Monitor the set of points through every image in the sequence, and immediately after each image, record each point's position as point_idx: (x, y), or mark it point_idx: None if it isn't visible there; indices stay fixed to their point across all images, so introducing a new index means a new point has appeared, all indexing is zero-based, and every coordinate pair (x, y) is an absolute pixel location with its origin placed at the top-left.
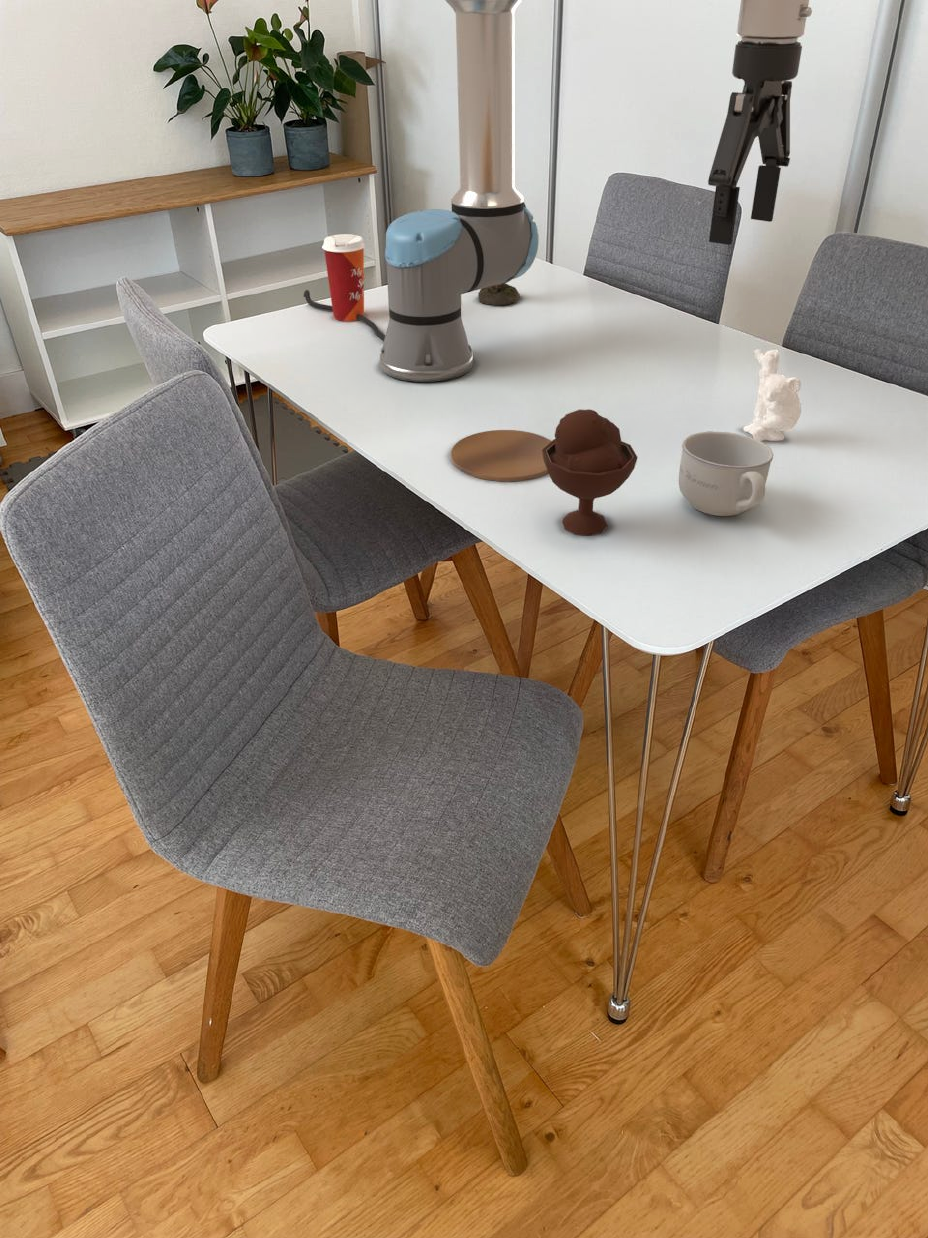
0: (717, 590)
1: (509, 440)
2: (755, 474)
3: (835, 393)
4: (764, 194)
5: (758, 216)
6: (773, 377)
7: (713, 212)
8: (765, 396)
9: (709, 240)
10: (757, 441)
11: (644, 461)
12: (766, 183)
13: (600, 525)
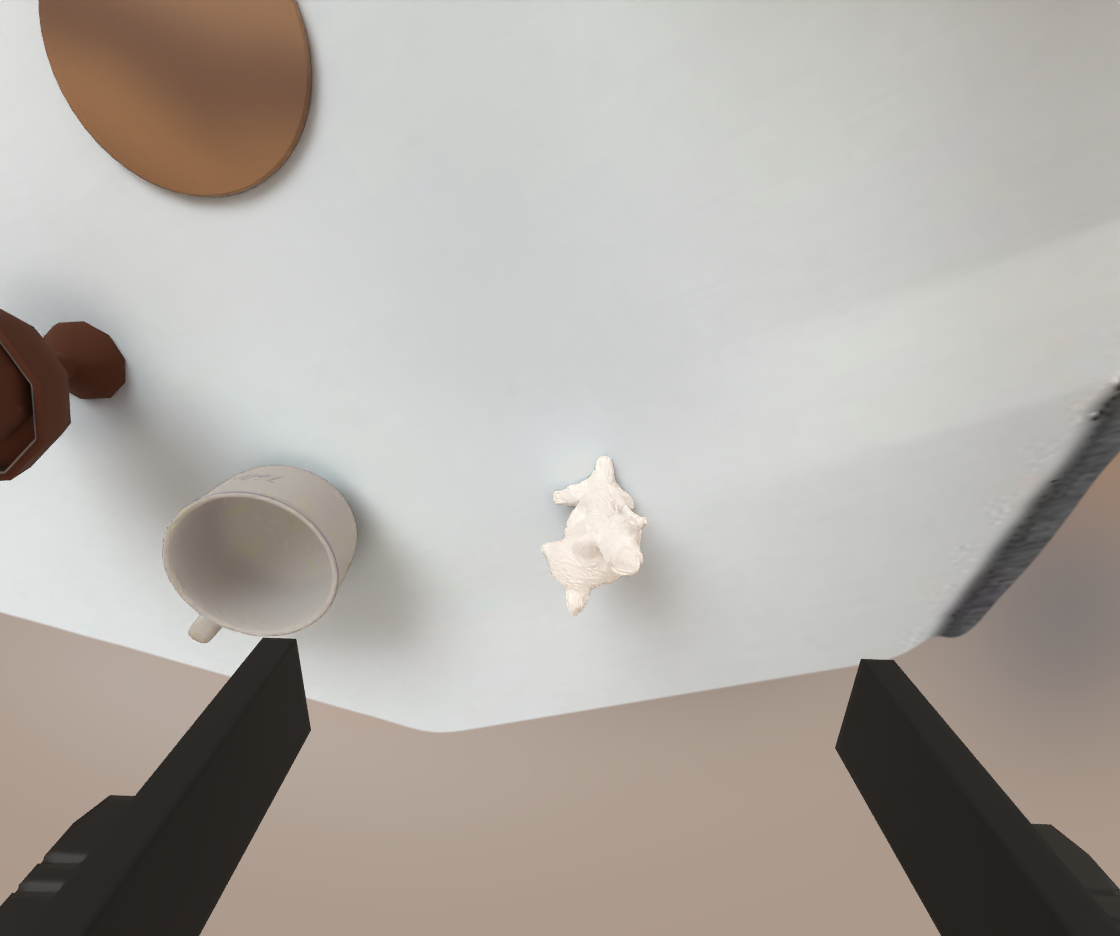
0: (92, 592)
1: (232, 17)
2: (195, 634)
3: (863, 543)
4: (931, 841)
5: (859, 707)
6: (571, 564)
7: (157, 775)
8: (579, 529)
9: (260, 643)
10: (329, 595)
11: (366, 346)
12: (991, 925)
13: (80, 395)
